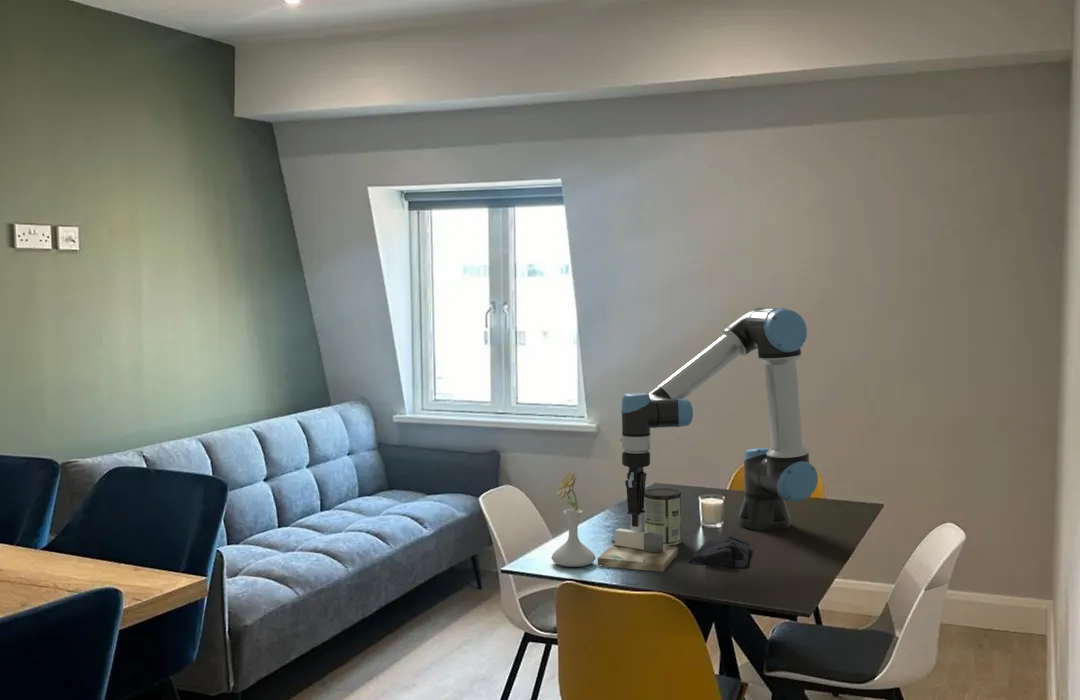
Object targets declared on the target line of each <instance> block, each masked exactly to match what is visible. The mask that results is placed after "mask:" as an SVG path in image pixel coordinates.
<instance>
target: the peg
mask: <svg viewBox="0 0 1080 700" xmlns="http://www.w3.org/2000/svg"><path fill="white" fill-rule="evenodd" d="M611 544H612V545H613V544H615V545H618V546H624V547H630V548H636V549H642V550H644V551H646V552H652V553H656V552H662V551H663V534H661V533H647V532H645V531H642V532H640V531H634V530H631V529H628V528H617V529H615V530H614V539H612V540H611Z"/></svg>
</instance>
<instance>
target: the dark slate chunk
mask: <svg viewBox="0 0 1080 700" xmlns="http://www.w3.org/2000/svg"><path fill="white" fill-rule="evenodd" d="M749 557H750V542H749V541H748V540H747V539H741V538H739V537H738V538H737V537H735V536H731V535H729V536H723V537H720V538H717V539H713V540H712V539H711V540H708V541H706V542H705V543H703V544H702V545H701V547H700V548H699V549H697V550H696V551H695V552H694V553H693V554H692V556H691V557H690V558H689V560H688V562H687V563H688V564H692V563H693V564H696V565H695V566H704V565H706V566H705V567H709V566H710V568H719V567H725V568H724V569H738V568H739V569H746V568H747V567H748V564H749V560H750V559H749ZM693 564H692V565H693ZM732 567H734V568H732Z"/></svg>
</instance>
